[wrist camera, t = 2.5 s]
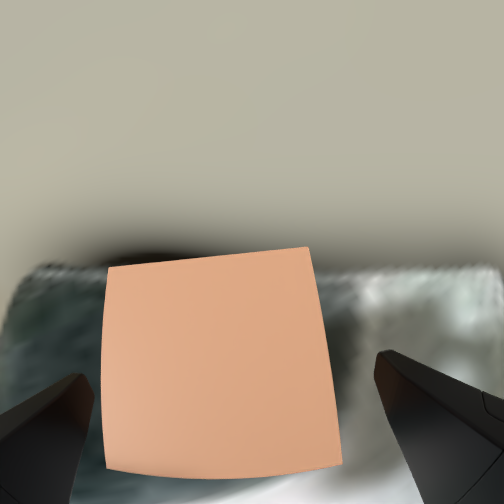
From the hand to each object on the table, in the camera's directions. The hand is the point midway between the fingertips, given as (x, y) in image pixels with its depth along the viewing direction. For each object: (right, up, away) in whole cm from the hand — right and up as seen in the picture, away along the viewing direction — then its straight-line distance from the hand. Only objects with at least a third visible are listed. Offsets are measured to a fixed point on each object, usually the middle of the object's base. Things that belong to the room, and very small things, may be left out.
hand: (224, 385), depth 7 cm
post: (0, -4, +8) cm, 9 cm away
